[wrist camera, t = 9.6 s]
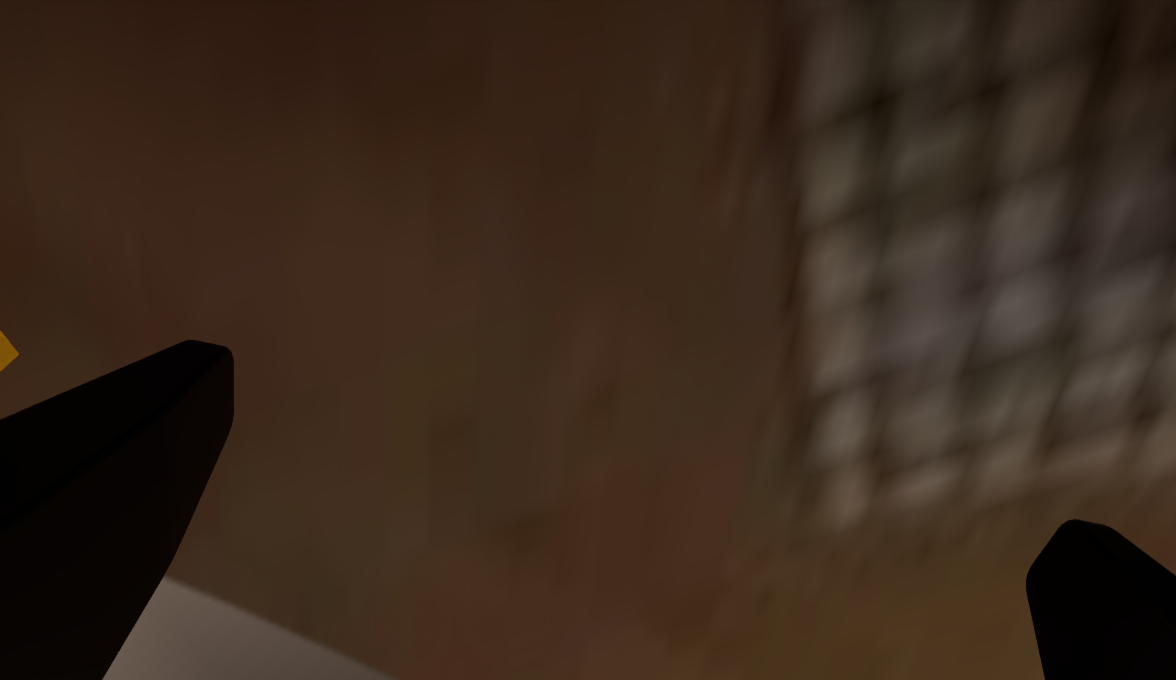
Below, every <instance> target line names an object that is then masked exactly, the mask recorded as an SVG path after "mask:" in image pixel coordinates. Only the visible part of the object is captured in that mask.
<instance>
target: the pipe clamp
mask: <svg viewBox="0 0 1176 680" xmlns="http://www.w3.org/2000/svg"><path fill="white" fill-rule="evenodd" d="M18 355H19V353H18V352H17V351H16V350H15V348H14V347H13V346H12V345H11V343H10V342H9V341H8V340H7V338H6V337H5V336H4V335H3V333H2V332H1V331H0V371H1V370H2V369H4V368H5V367H6V366H7V365H8V364H9V363H10V362H11V361H12V360H14V359H15V358H16V357H17V356H18Z"/></svg>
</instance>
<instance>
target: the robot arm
mask: <svg viewBox="0 0 1176 680" xmlns="http://www.w3.org/2000/svg"><path fill="white" fill-rule="evenodd" d="M233 416H234V359H233V355H232V352H231V351H230V350H229V349H228V348H227V347H225V346H221V345H216V344H212V343H207V342H202V341H197V340H187V341H184V342H181V343H178V344H176V345H174V346H171V347H169V348H167V349H164V350H162V351H160V352H157V353H155V354H153V355H150V356H148V357H146V358H143V359H141V360H139V361H136V362H134V363H131V364H129V365H127V366H124V367H122V368H120V369H117V370H115V371H113V372H110V373H108V374H106V375H103V376H101V377H99V378H96V379H94V380H92V381H89V382H87V383H85V384H82V385H80V386H77V387H75V388H73V389H70V390H68V391H66V392H63V393H61V394H59V395H56V396H54V397H52V398H49V399H47V400H45V401H42V402H40V403H38V404H35V405H33V406H31V407H28V408H26V409H24V410H21V411H19V412H16V413H14V414H12V415H9V416H7V417H5V418H2V419H0V680H102V679H103V678H104V676H105V674H106V672H107V671H108V669H109V668H110V666H111V664H112V662H113V661H114V659H115V657H116V656H117V654H118V652H119V651H120V649H121V647H122V646H123V644H124V642H125V640H126V639H127V637H128V635H129V634H130V632H131V631H132V628H133V627H134V625H135V624H136V622H137V620H138V619H139V617H140V615H141V614H142V612H143V610H144V609H145V607H146V605H147V604H148V602H149V600H150V599H151V597H152V595H153V594H154V592H155V590H156V588H157V587H158V585H159V584H160V582H161V580H162V578H163V576H164V575H165V573H166V571H167V569H168V567H169V566H170V564H171V562H172V560H173V558H174V556H175V554H176V552H177V550H178V547H179V545H180V543H181V541H182V539H183V537H184V534H185V532H186V530H187V528H188V525H189V523H190V521H191V519H192V516H193V514H194V512H195V510H196V507H197V505H198V503H199V501H200V498H201V496H202V494H203V492H204V489H205V487H206V485H207V483H208V480H209V478H210V476H211V473H212V471H213V469H214V467H215V464H216V462H217V460H218V458H219V455H220V453H221V451H222V449H223V446H224V444H225V442H226V440H227V437H228V435H229V432H230V429H231V426H232V422H233ZM1026 593H1027V597H1028V602H1029V607H1030V611H1031V616H1032V621H1033V625H1034V630H1035V635H1036V640H1037V644H1038V649H1039V654H1040V658H1041V663H1042V668H1043V672H1044V677H1045V680H1176V576H1175V575H1174V574H1173V573H1171V572H1170V571H1169V570H1167V569H1166V568H1165V567H1163V566H1162V565H1161V564H1159V563H1158V562H1157V561H1155V560H1154V559H1153V558H1151V557H1150V556H1149V555H1147V554H1146V553H1145V552H1143V551H1142V550H1141V549H1140V548H1138V547H1137V546H1136V545H1134V544H1133V543H1132V542H1130V541H1129V540H1128V539H1126V538H1125V537H1124V536H1122V535H1121V534H1120V533H1118V532H1117V531H1116V530H1114V529H1113V528H1111V527H1109V526H1106V525H1103V524H1098V523H1093V522H1088V521H1083V520H1078V519H1073V520H1068V521H1066V522H1065V523H1063V524H1062V525H1061V526H1060V527H1059V528H1058V529H1057V531H1056V532H1055V534H1054V535H1053V536H1052V538H1051V539H1050V540H1049V542H1048V543H1047V545H1046V546H1045V547H1044V549H1043V550H1042V551H1041V553H1040V554H1039V556H1038V557H1037V558H1036V560H1035V561H1034V562H1033V564H1032V565H1031V567H1030V569H1029V571H1028V574H1027V578H1026Z"/></svg>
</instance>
